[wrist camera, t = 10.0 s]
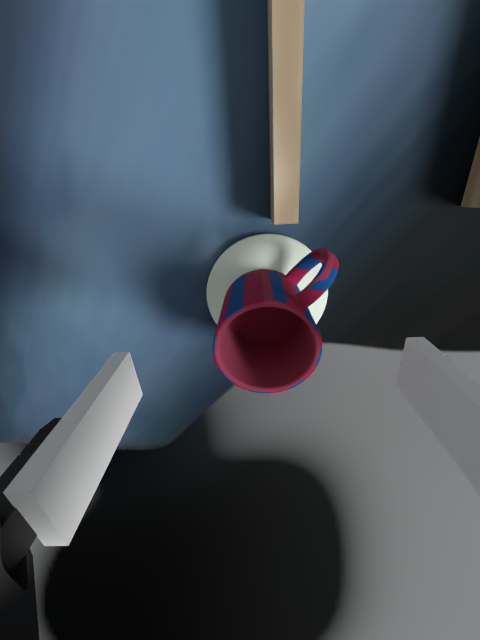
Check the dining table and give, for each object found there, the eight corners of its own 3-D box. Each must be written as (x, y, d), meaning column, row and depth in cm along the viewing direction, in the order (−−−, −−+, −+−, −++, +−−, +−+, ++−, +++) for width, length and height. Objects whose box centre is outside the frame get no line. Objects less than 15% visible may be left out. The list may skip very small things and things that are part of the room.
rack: (270, 219, 20) (274, 224, 17) (265, -99, 13) (269, -188, 10) (482, 204, 19) (528, 207, 16) (590, -148, 12) (707, -264, 9)
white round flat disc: (214, 346, 25) (213, 350, 24) (200, 237, 21) (198, 238, 20) (322, 343, 24) (323, 346, 24) (330, 229, 20) (333, 230, 19)
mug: (207, 309, 23) (191, 353, 17) (293, 216, 19) (311, 228, 13) (264, 354, 24) (267, 409, 18) (351, 276, 21) (393, 312, 15)
